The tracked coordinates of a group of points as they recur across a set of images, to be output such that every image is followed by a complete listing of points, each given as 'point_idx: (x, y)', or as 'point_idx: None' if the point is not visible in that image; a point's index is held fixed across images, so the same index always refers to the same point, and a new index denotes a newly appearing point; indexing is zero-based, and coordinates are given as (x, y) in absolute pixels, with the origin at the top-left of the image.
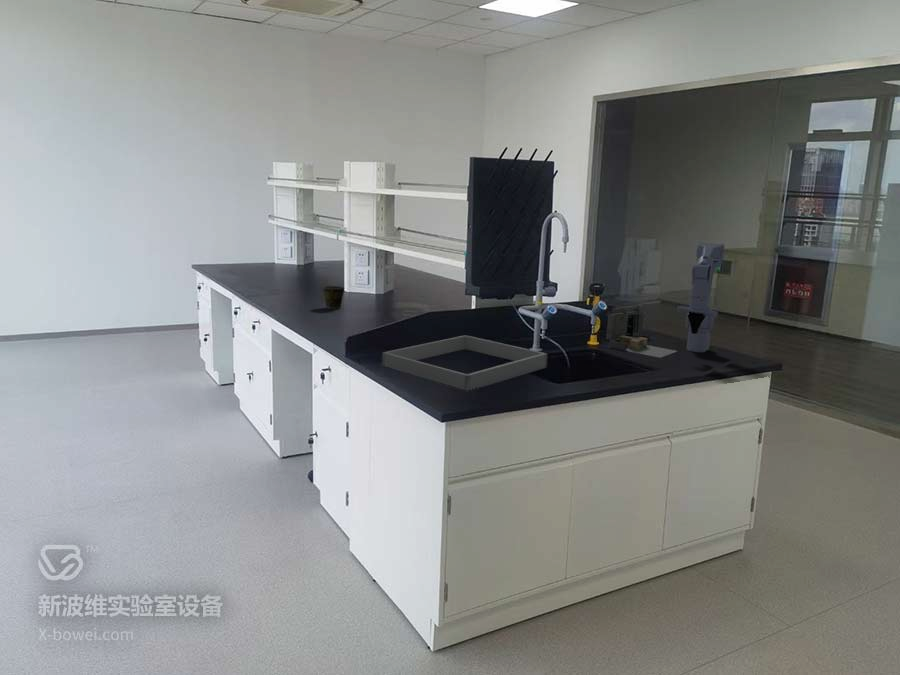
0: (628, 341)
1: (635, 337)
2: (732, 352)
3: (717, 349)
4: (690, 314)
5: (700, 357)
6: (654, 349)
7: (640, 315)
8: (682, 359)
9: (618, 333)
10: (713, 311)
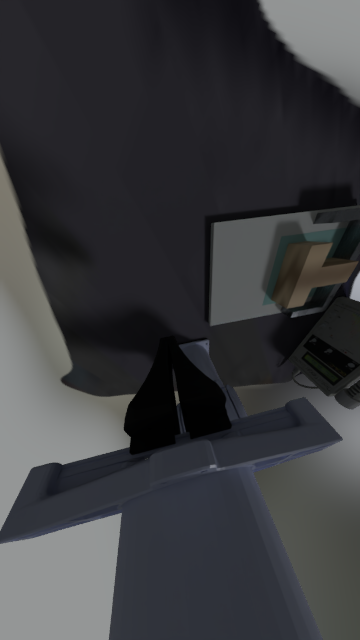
0: (324, 263)
1: (308, 312)
2: None
3: None
4: (213, 411)
5: (166, 335)
6: (252, 295)
7: (327, 385)
8: (178, 290)
9: (337, 320)
10: (44, 530)
